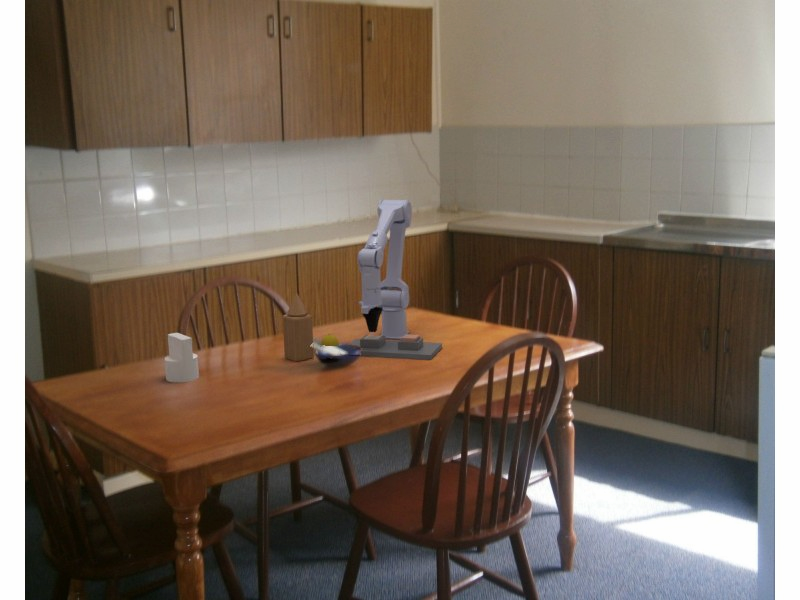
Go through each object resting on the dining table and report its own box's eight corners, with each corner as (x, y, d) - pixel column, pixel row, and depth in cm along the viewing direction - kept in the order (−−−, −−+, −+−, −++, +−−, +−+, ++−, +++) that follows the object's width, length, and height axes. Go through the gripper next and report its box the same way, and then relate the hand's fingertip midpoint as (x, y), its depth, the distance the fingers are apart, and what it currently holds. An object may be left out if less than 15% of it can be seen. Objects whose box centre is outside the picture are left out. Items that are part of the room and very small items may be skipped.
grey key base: (356, 343, 287) (355, 330, 286) (442, 347, 279) (441, 335, 279) (340, 354, 274) (340, 341, 273) (430, 360, 266) (430, 346, 265)
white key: (368, 341, 281) (368, 334, 280) (382, 341, 279) (381, 335, 279) (363, 344, 277) (363, 338, 276) (377, 345, 275) (377, 339, 275)
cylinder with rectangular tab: (160, 377, 255) (157, 336, 253) (189, 371, 261) (186, 330, 258) (175, 384, 248) (171, 342, 246) (204, 377, 254) (201, 336, 251)
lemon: (317, 360, 269) (316, 334, 267) (331, 356, 273) (330, 330, 271) (329, 363, 265) (328, 337, 263) (343, 359, 269) (342, 333, 267)
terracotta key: (405, 340, 277) (405, 334, 277) (419, 341, 276) (419, 334, 276) (401, 344, 273) (401, 337, 273) (415, 344, 272) (415, 338, 271)
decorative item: (314, 358, 271) (311, 292, 267) (296, 362, 267) (292, 295, 263) (302, 353, 276) (299, 289, 272) (283, 358, 272) (280, 292, 268)
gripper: (366, 282, 282) (367, 325, 285) (350, 292, 269) (352, 336, 272) (388, 283, 280) (389, 326, 283) (373, 293, 267) (374, 338, 270)
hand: (372, 331), depth 277 cm, fingers closed
